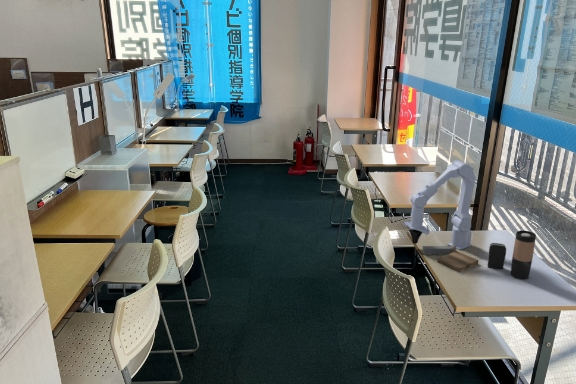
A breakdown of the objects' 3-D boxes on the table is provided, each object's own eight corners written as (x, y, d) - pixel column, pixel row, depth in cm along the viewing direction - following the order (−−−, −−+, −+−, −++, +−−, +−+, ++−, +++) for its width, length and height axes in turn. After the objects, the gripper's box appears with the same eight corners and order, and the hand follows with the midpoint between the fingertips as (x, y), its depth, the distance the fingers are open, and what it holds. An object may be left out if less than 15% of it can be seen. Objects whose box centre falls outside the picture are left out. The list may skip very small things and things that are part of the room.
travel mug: (527, 272, 197) (534, 231, 190) (530, 281, 190) (537, 238, 184) (508, 270, 199) (515, 229, 193) (510, 278, 192) (517, 236, 186)
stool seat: (452, 252, 218) (453, 244, 217) (479, 263, 206) (480, 255, 205) (431, 259, 210) (432, 252, 209) (459, 272, 198) (459, 264, 197)
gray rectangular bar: (448, 251, 218) (449, 246, 217) (450, 254, 215) (451, 248, 214) (422, 251, 218) (422, 246, 217) (423, 254, 215) (424, 248, 214)
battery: (503, 266, 203) (506, 243, 200) (503, 269, 200) (507, 246, 196) (486, 263, 205) (489, 241, 202) (486, 267, 202) (490, 244, 199)
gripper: (400, 215, 222) (398, 240, 226) (423, 224, 210) (421, 250, 215) (410, 212, 226) (408, 236, 230) (433, 220, 214) (430, 246, 218)
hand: (415, 243), depth 222 cm, fingers closed
